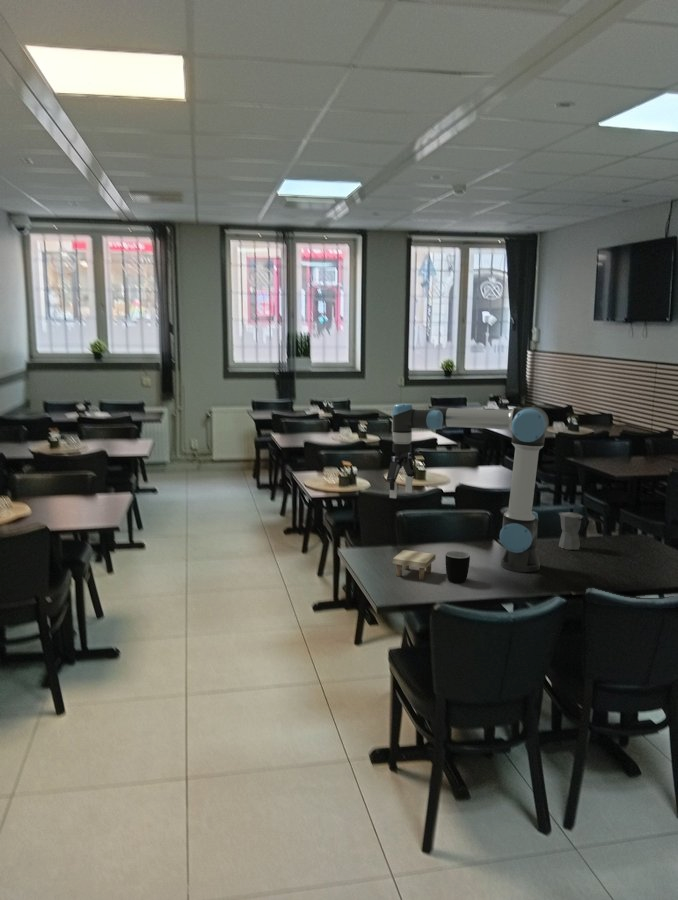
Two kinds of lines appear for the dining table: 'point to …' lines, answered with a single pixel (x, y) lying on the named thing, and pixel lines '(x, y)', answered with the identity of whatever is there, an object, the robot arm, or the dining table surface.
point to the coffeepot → (571, 529)
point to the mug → (457, 566)
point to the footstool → (414, 562)
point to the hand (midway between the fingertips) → (400, 495)
